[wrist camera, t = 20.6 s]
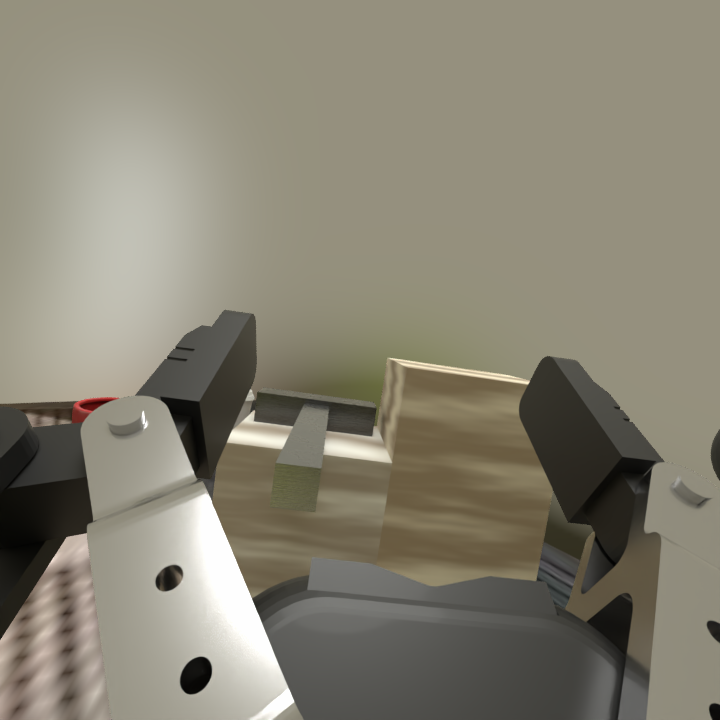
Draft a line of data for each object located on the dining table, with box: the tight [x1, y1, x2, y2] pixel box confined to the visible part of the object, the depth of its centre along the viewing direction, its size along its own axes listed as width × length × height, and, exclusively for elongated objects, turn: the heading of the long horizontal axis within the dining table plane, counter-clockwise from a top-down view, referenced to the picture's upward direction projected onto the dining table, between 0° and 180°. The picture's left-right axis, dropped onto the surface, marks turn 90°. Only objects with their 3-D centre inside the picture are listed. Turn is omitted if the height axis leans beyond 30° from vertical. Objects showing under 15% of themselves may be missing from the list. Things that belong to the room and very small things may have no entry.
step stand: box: [212, 358, 553, 599], centre depth 37 cm, size 12×28×32 cm, turn 93°
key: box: [254, 388, 376, 512], centre depth 30 cm, size 20×12×3 cm, turn 3°
